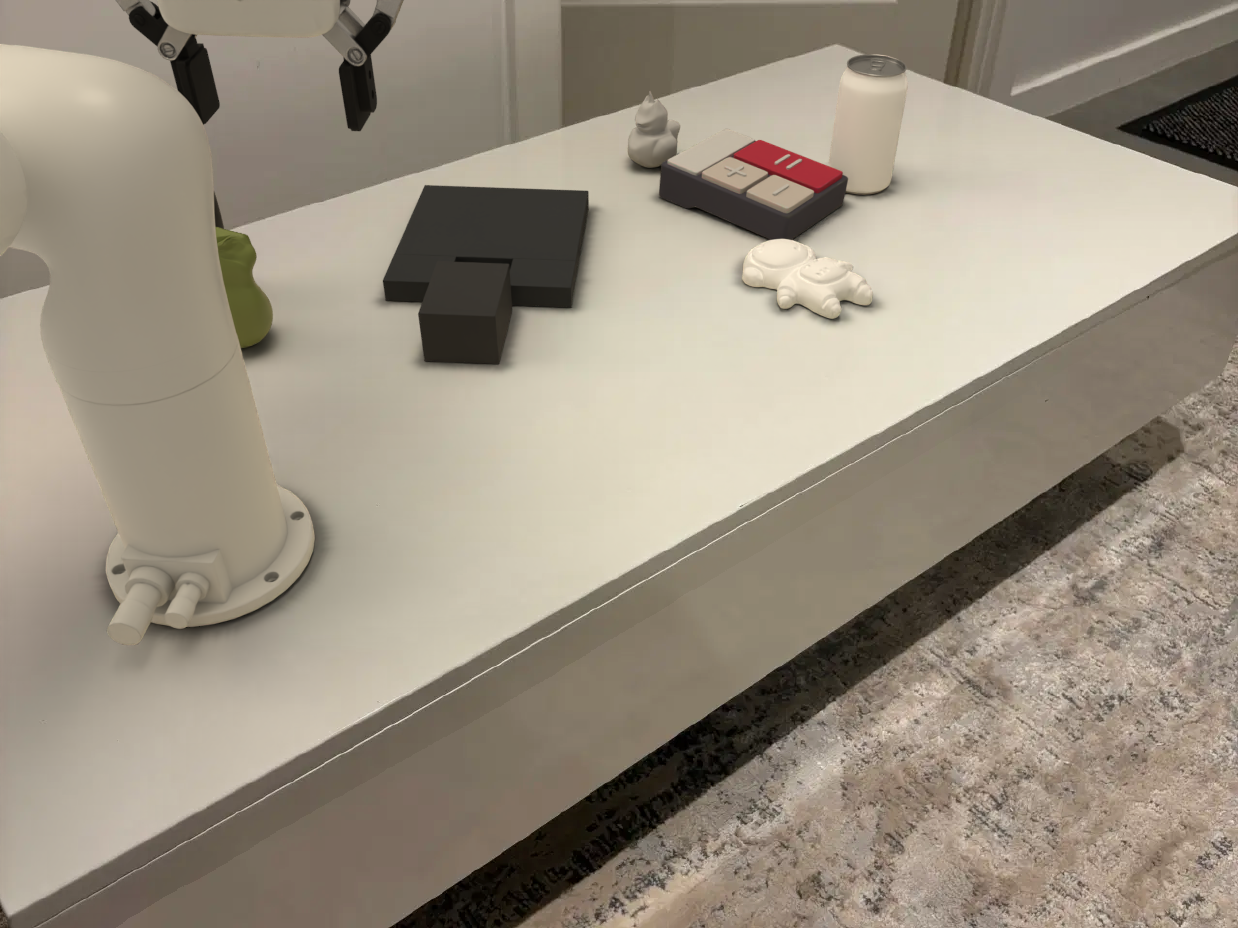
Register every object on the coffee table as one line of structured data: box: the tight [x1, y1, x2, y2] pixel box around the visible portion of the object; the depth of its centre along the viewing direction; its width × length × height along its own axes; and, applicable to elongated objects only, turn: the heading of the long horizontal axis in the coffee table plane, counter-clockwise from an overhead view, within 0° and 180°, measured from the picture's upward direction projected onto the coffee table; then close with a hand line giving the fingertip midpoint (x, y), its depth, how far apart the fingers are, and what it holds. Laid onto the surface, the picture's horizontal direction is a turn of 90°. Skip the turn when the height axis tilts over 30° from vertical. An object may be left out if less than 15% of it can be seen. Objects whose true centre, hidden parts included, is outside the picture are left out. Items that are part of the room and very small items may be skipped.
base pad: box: [382, 184, 590, 309], centre depth 99 cm, size 18×16×2 cm
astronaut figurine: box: [741, 239, 874, 320], centre depth 94 cm, size 9×12×3 cm
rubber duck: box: [627, 90, 681, 169], centre depth 111 cm, size 5×7×8 cm
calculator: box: [658, 128, 848, 240], centre depth 106 cm, size 11×4×15 cm
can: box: [827, 53, 909, 196], centre depth 107 cm, size 6×6×12 cm
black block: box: [417, 261, 513, 365], centre depth 89 cm, size 12×6×4 cm, turn 177°
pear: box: [215, 227, 274, 349], centre depth 85 cm, size 6×5×10 cm
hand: (283, 120), depth 67 cm, fingers open, 9 cm apart
